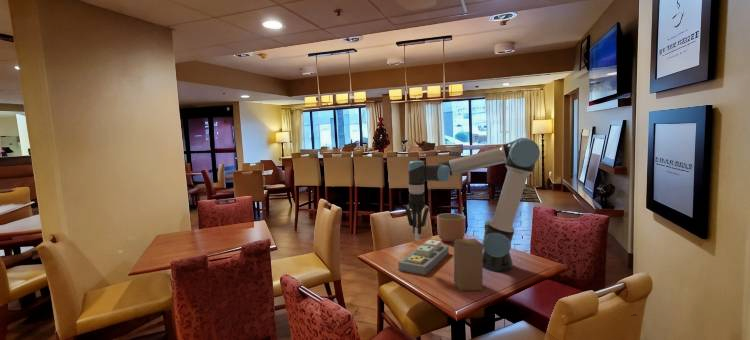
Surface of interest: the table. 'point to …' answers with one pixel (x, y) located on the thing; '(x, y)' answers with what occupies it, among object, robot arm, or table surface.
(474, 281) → the wooden block
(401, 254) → the table surface
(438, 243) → the tile one
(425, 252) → the tile two
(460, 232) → the planter
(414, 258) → the tile three
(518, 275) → the table surface
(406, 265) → the tile board
